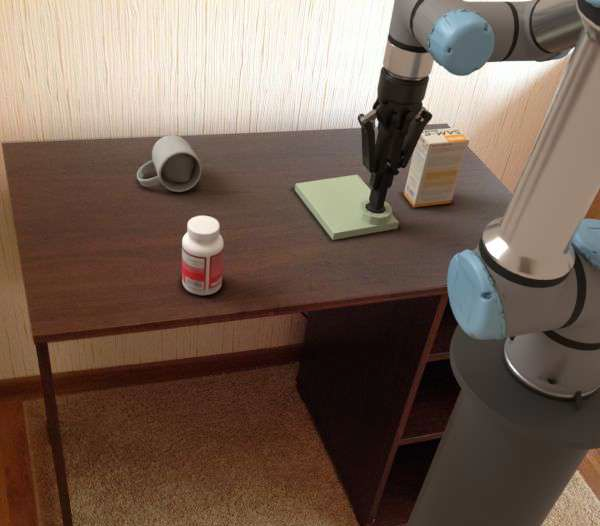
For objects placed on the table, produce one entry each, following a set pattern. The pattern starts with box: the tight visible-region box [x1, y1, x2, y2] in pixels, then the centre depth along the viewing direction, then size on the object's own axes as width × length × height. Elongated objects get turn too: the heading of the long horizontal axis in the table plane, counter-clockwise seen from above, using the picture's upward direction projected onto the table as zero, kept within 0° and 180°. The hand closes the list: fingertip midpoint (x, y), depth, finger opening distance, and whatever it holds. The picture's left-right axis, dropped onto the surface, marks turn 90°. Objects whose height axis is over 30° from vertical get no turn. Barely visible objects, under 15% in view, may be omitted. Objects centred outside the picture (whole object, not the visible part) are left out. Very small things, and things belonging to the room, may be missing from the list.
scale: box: [294, 174, 400, 241], centre depth 135 cm, size 16×13×3 cm
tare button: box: [367, 202, 384, 214], centre depth 133 cm, size 3×3×2 cm
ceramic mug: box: [136, 134, 202, 193], centre depth 133 cm, size 11×8×8 cm
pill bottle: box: [181, 215, 225, 296], centre depth 113 cm, size 6×6×11 cm
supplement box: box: [403, 127, 470, 208], centre depth 137 cm, size 8×5×13 cm, turn 111°
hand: (376, 203), depth 132 cm, fingers closed
